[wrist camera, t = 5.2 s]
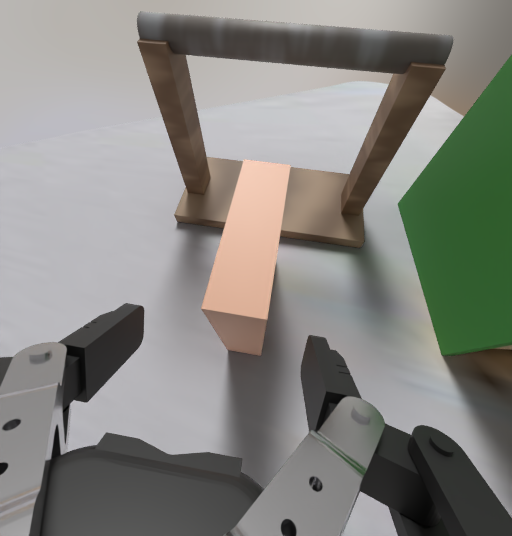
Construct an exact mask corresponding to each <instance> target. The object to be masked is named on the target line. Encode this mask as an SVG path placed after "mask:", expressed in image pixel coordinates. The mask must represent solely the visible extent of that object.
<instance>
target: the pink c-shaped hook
mask: <svg viewBox="0 0 512 536" xmlns="http://www.w3.org/2000/svg"><path fill="white" fill-rule="evenodd" d="M290 166H291V165H285V164H277V163H269V162H261V161H252V160H244V161H243V164H242V168H241V171H240V175H239V178H238V182H237V185H236V189H235V192H234V196H233V199H232V203H231V206H230V210H229V213H228V216H227V220H226V223H225V227H224V230H223V234H222V237H221V241H220V244H219V248H218V251H217V255H216V258H215V262H214V265H213V269H212V272H211V276H210V279H209V283H208V286H207V290H206V293H205V297H204V300H203V304H202V307H201V309H202V311H203V312H204V314H205V315H206V317H207V318H208V320H209V322H210V323H211V325H212V326H213V328H214V329H215V331H216V332H217V334H218V336H219V337H220V339H221V340H222V342H223V343H224V345H225V346H226V348H227V350H231V351H236V352H242V353H247V354H253V355H258V356H261V352H262V347H263V341H264V335H265V329H266V324H267V318H268V311H269V304H270V298H271V291H272V285H273V278H274V271H275V265H276V258H277V252H278V245H279V239H280V232H281V225H282V219H283V212H284V206H285V199H286V192H287V186H288V179H289V173H290Z"/></svg>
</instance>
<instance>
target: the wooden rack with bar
mask: <svg viewBox="0 0 512 536" xmlns="http://www.w3.org/2000/svg"><path fill="white" fill-rule="evenodd" d="M137 27H138V32H139V36H140V39H139V40H138V41H137V43H138V46H139V49H140V52H141V55H142V57H143V61H144V63H145V66H146V69H147V73H148V76H149V79H150V82H151V85H152V87H153V90H154V93H155V96H156V99H157V102H158V105H159V108H160V111H161V114H162V117H163V120H164V123H165V126H166V129H167V132H168V135H169V138H170V141H171V144H172V147H173V150H174V153H175V156H176V159H177V162H178V165H179V168H180V171H181V174H182V177H183V180H184V183H185V186H186V188H185V190H184V193H183V195H182V198H181V200H180V202H179V205H178V207H177V210H176V212H175V214H174V215H175V218H176V220H177V222H183V223H190V224H197V225H204V226H211V227H218V228H224V227H225V223H226V220H227V216H228V213H229V210H230V206H231V203H232V199H233V196H234V192H235V189H236V185H237V182H238V178H239V175H240V171H241V168H242V164H243V161H236V160H228V159H220V158H211V157H206V152H205V147H204V142H203V138H202V133H201V128H200V123H199V118H198V113H197V108H196V104H195V99H194V94H193V89H192V84H191V79H190V74H189V69H188V65H187V60H186V55H194V56H205V57H217V58H228V59H238V60H250V61H261V62H272V63H282V64H294V65H306V66H316V67H327V68H338V69H349V70H360V71H371V72H383V73H393V76H392V79H391V81H390V83H389V85H388V88H387V90H386V92H385V95H384V97H383V99H382V101H381V104H380V106H379V108H378V111H377V113H376V115H375V117H374V120H373V122H372V124H371V127H370V129H369V131H368V134H367V136H366V138H365V140H364V143H363V145H362V147H361V150H360V152H359V154H358V156H357V159H356V161H355V163H354V166H353V168H352V170H351V172H350V174H343V173H334V172H326V171H318V170H310V169H302V168H293V167H290V173H289V179H288V186H287V192H286V199H285V206H284V212H283V219H282V225H281V232H280V236H281V237H288V238H295V239H302V240H309V241H315V242H322V243H329V244H336V245H343V246H350V247H357V248H360V247H361V246H362V245H363V243H364V242H365V241H364V218H363V208H364V206H365V204H366V203H367V201H368V199H369V198H370V196H371V194H372V193H373V191H374V189H375V188H376V186H377V184H378V183H379V181H380V179H381V177H382V176H383V174H384V172H385V171H386V169H387V167H388V166H389V164H390V162H391V161H392V159H393V157H394V155H395V154H396V152H397V150H398V149H399V147H400V145H401V144H402V142H403V140H404V139H405V137H406V135H407V134H408V132H409V130H410V128H411V127H412V125H413V123H414V122H415V120H416V118H417V117H418V115H419V113H420V112H421V110H422V108H423V106H424V105H425V103H426V101H427V100H428V98H429V96H430V95H431V93H432V91H433V90H434V88H435V86H436V85H437V83H438V81H439V79H440V78H441V76H442V74H443V73H444V71H445V69H446V68H445V65H444V64H445V63H446V61H447V59H448V56H449V54H450V52H451V48H452V45H453V37H452V36H450V35H436V34H424V33H411V32H398V31H385V30H372V29H359V28H346V27H334V26H333V27H332V26H321V25H307V24H295V23H282V22H269V21H256V20H243V19H230V18H217V17H205V16H191V15H179V14H165V13H153V12H140V13H139V14H138V18H137Z"/></svg>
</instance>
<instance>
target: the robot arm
mask: <svg viewBox="0 0 512 536" xmlns="http://www.w3.org/2000/svg"><path fill="white" fill-rule="evenodd" d="M143 334H144V308H143V306H139V305H134V304H128V303H126V304H124V305H122V306H121V307H119V308H118V309H116V310H115V311H111V312H109V313H106V314H103V315H100V316H99V317H97V318H95V319H94V320H92V321H91V323H88V324H86V325H84V326H83V328H82V327H81V328H80V329H78V330H77V331H75V332H74V333H72V334H70V335H69V336H67V337H66V338H64V339H63V340H61V341H60V342H58V343H56V342H48V343H41V344H37V345H33V346H30V347H28V348H25V349H23V350H21V351H20V352H18V353H17V354H16V355H15V356H14V357H2V358H0V536H342V534H343V532H344V529H345V527H346V524H347V522H348V520H349V517H350V515H351V512H352V510H353V507H354V505H355V502H356V500H357V498H358V495H359V493H360V491H361V492H363V493H365V494H367V495H368V496H370V497H372V498H374V499H376V500H377V501H379V502H381V503H383V504H385V505H387V506H388V507H389V510H390V513H391V516H392V519H393V522H394V525H395V528H396V531H397V534H398V536H512V518H511V516H510V515H509V514H508V512H507V511H506V509H505V508H504V507H503V505H502V504H501V502H500V501H499V500H498V498H497V497H496V495H495V494H494V493H493V491H492V490H491V488H490V487H489V486H488V484H487V483H486V481H485V480H484V479H483V477H482V476H481V474H480V473H479V472H478V470H477V469H476V467H475V466H474V465H473V463H472V462H471V460H470V459H469V458H468V456H467V455H466V453H465V452H464V451H463V450H462V448H461V447H460V446H459V445H458V444H457V443H456V442H455V441H453V440H452V439H451V438H450V437H448V436H447V435H445V434H444V433H442V432H440V431H439V430H437V429H434V428H432V427H429V426H424V425H420V426H417V427H415V428H414V430H413V432H412V435H410V434H408V433H405V432H403V431H401V430H398V429H396V428H394V427H392V426H389V425H387V424H385V422H384V419H383V417H382V415H381V414H380V412H379V411H378V410H377V409H376V408H375V407H374V406H373V405H371V404H370V403H368V402H367V401H365V400H363V399H362V398H361V396H360V394H359V392H358V389H357V387H356V385H355V383H354V381H353V378H352V376H351V375H350V372H349V369H348V368H347V365H346V363H345V361H344V358H343V357H342V356H341V355H340V354H339V353H338V352H337V351H336V350H330V348H329V345H328V343H327V340H326V338H323V337H318V336H312V335H309V336H308V339H307V343H306V347H305V351H304V356H303V360H302V364H301V381H302V388H303V394H304V401H305V407H306V414H307V420H308V427H309V433H308V435H307V436H306V437H305V439H304V440H303V441H302V442H301V444H300V445H299V446H298V447H297V449H296V450H295V451H294V452H293V454H292V455H291V456H290V458H289V459H288V460H287V461H286V463H285V464H284V465H283V466H282V468H281V469H280V470H279V472H278V473H277V474H276V475H275V477H274V478H273V479H272V480H271V482H270V483H269V484H268V486H267V487H266V488H265V489H264V490H263V489H262V487H261V486H260V485H258V484H257V483H256V482H255V481H254V480H253V479H251V478H250V477H248V476H247V475H245V474H243V473H242V472H241V464H242V459H241V458H236V457H230V456H225V455H220V454H215V453H210V452H205V453H191V454H178V455H170V454H167V453H165V452H163V451H161V450H159V449H157V448H155V447H154V446H152V445H150V444H148V443H146V442H144V441H142V440H140V439H137V438H132V437H127V436H122V435H117V434H112V433H106V434H105V435H104V436H103V438H102V439H101V440H100V442H99V443H98V445H94V446H88V447H83V448H79V449H76V450H72V451H70V452H67V449H68V438H69V427H70V416H71V405H70V403H71V402H72V401H73V400H76V401H81V402H88V401H89V400H90V399H91V398H92V397H93V396H94V395H95V394H96V393H97V391H98V390H99V389H100V388H101V387H102V386H103V385H104V384H105V383H106V382H107V381H108V380H109V379H110V378H111V377H112V376H113V374H114V373H115V372H116V371H117V370H118V369H119V368H120V367H121V366H122V365H123V364H124V363H125V362H126V361H127V360H128V359H129V357H130V356H131V355H132V354H133V353H134V352H135V351H136V350H137V349H138V348H139V346H140V345H141V343H142V340H143Z"/></svg>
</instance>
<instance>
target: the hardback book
mask: <svg viewBox="0 0 512 536" xmlns="http://www.w3.org/2000/svg"><path fill="white" fill-rule="evenodd" d="M398 207H399V210H400V214H401V217H402V221H403V224H404V227H405V231H406V234H407V238H408V241H409V245H410V248H411V252H412V255H413V258H414V262H415V265H416V269H417V272H418V276H419V279H420V282H421V286H422V289H423V293H424V296H425V300H426V303H427V306H428V310H429V313H430V317H431V320H432V324H433V327H434V330H435V334H436V337H437V341H438V344H439V348H440V351H441V354H442V355H446V356H454V355H460V354H465V353H471V352H476V351H482V350H487V349H510V350H512V55H511V56H510V57H509V59H508V60H507V61H506V63H505V64H504V65H503V67H502V68H501V69H500V71H499V72H498V73H497V74H496V76H495V77H494V78H493V80H492V81H491V82H490V84H489V85H488V86H487V88H486V89H485V90H484V91H483V93H482V94H481V95H480V97H479V98H478V99H477V101H476V102H475V103H474V105H473V106H472V107H471V109H470V110H469V111H468V112H467V114H466V115H465V116H464V118H463V119H462V120H461V122H460V123H459V124H458V126H457V127H456V128H455V130H454V131H453V132H452V133H451V135H450V136H449V137H448V139H447V140H446V141H445V143H444V144H443V145H442V147H441V148H440V149H439V150H438V152H437V153H436V154H435V156H434V157H433V158H432V160H431V161H430V162H429V164H428V165H427V166H426V168H425V169H424V170H423V171H422V173H421V174H420V175H419V177H418V178H417V179H416V181H415V182H414V183H413V185H412V186H411V187H410V189H409V190H408V191H407V192H406V194H405V195H404V196H403V198H402V199H401V200H400V202H399V203H398Z"/></svg>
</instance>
